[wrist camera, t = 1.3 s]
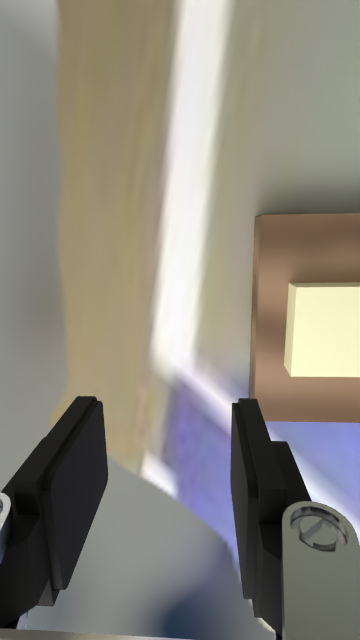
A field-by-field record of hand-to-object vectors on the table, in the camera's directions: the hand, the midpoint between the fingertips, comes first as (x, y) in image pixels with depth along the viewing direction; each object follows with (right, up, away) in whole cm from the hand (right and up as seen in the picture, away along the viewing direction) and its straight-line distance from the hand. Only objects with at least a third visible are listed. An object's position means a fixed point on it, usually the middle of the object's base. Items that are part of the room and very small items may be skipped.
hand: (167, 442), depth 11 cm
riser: (+13, +4, +16) cm, 21 cm away
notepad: (+12, +3, +13) cm, 18 cm away
